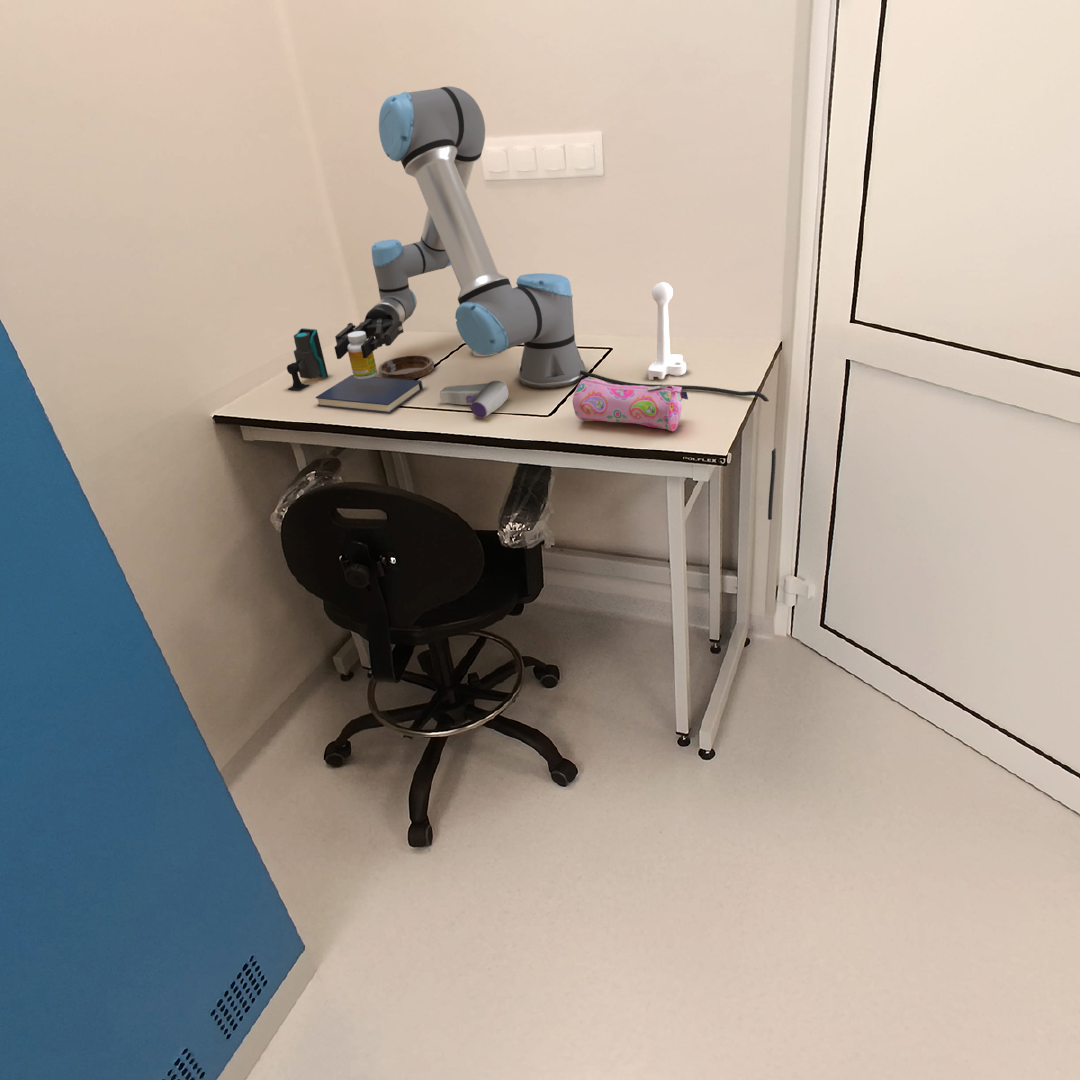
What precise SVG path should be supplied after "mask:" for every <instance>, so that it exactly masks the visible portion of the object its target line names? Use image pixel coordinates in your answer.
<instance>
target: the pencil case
mask: <svg viewBox="0 0 1080 1080" xmlns="http://www.w3.org/2000/svg"><path fill="white" fill-rule="evenodd" d="M660 385H661V386H655V387H649V386H635V385H619V384H614V383H610V382H606V381H603V380H599V379H593V378H592V379H591V377H584V378H583V379H581V380H580V381H579V383H578V384H577V385H576V388H575V390H574V393H573V396H572V407H573V410H574V415H575V416H576V417H577V419H579V420H581V421H584V422H597V421H598V422H599V421H600V422H608V423H623V424H636V425H641V426H645V427H648V428H655V429H662V430H668V431H670V432H675V431H676V430H677V428H678V425H679V422H680V420H681V419H680V418H681V414H682V409H683V400H689V397H688V392H687V391H683V389H682V387H678V386H677V387H676V386H673V385H674V384H660ZM666 385H668V386H666Z"/></svg>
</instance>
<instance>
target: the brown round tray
mask: <svg viewBox="0 0 1080 1080" xmlns="http://www.w3.org/2000/svg"><path fill="white" fill-rule="evenodd" d="M434 368H435V365H434V360H433V358H432V357H430V356H428V355H423V354H410V355H409V354H408V355H401V356H397V357H393V358H390V359H388V360H386V361H384V362H382V363H381V364H379V366H378V369H377V370H378V374H379V377H383V378H396V379H408V380H416V379H418V378H422V377H423V376H426V375H428V374H430V373H431V372H433V370H434Z"/></svg>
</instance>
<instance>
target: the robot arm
mask: <svg viewBox="0 0 1080 1080" xmlns="http://www.w3.org/2000/svg"><path fill="white" fill-rule="evenodd" d="M378 132H379V133H378V134H379V140H380V142H381V147H382V149H383V152H384V154H385V155H386V156H387V157H388V158H389V160H391V161H393V162H400V163H401V165H402V167H403V169H404V173H405V174H407V175H408V176H411V177H413V178H414V179H415V180H416V182H417V185H418V187H419V190H420V192H421V195H422V197H423V200H424V202H425V204H426V207H427V211H426V215H425V220H424V224H423V228H422V233H421V237H420V240H419V241H416V242H413V243H409V244H408V243H407V244H404V245H403V243H402V241H400V240H398V239H386V240H379V241H376V242H374V243H373V244H372V246H371V258H372V259H371V260H372V265H373V269H374V273H375V278H376V282H377V286H378V287H377V288H378V293H379V298H380V300H379V301H378V302H377V303H376V304H375V305H373V307H372V308H371V309H369V310H368V312H367V313H366V314H365V318H364V320H363V321H362V322H360V323H358V325H356V324H354V323H353V322H349V323H347V326H346V327H345V328H343V329H342V330H341V331H340V332H338V333H337V334H336V335H335V336H334V338H335V342H336V343H335V344H336V345H335V346H334V352H335V355H336V359H337V360H341V359H342V358H343V357H344V356H345V355H346V354H347V353H348V349H347V347H348V345H349V344H350V342H349V340H348V334H349V333H352V332H356V331H364V332H365V333H366V337H367V339H366V340H367V341H366V342H365V343H364V344H362V345H361V350H362V354H363V358H367V357H368V356H369V355H370V354H371V353H372V352H373V353H374V351H376V350H378V349H379V348H381V347H383V345H385V347H389V346H391V345H392V344H393V343H394V341H395V340H396V339H397V338H398V337H399V336H400V335H401V334H403V333H404V331H405V330H404V328H403V327H404V325H403V324H404V323H406V321H407V320H408V319H410V318H411V316H412V315H413V314H414V311H415V310H416V308H417V304H418V302H417V296H416V295H415V293H414V292H413V290H412V289H410V283H409V278H413V277H415V276H419V275H423V274H427V273H431V272H434V271H439V270H444V269H446V268H447V267H450V266H451V269H452V270H453V274H454V275H455V278H456V280H457V283H458V285H459V287H460V291H459V294H458V297H457V302H458V305H459V304H460V306H458V307H457V309H456V311H455V316H454V317H455V320H456V321H455V325H456V329H457V331H458V333H459V335H460V338H461V339H462V341H463V342H464V343H465V345H466V346H467V348H469V349H470V350H471V351H472V350H473V351H475V352H476V353H478V354H480V355H490V356H492V355H491V354H493V355H496V354H501V353H503V352H505V351H506V350H509V349H511V348H515V347H517V346H520V345H523V351H522V355H521V359H520V360H521V361H520V366H519V367H517V369H518V370H517V371H518V374H519V375H518V376H519V377H518V378H519V382H520V384H522V385H524V386H526V387H529V388H533V389H541V390H542V389H543V390H545V389H546V390H547V389H549V390H550V389H559V388H563V387H567V386H572V385H574V384H576V383H578V382H581V380H583V379H585V376H586V377H588V378H592V379H595V380H601V381H604V382H606V383H610V384H615V385H635V386H649V387H655V386H661V385H662V384H652V383H651V384H650V383H635V382H629V381H623V380H618V379H614V378H609V377H605V376H604V375H603V376H602V375H599V374H595V373H592V372H589V371H586V367H585V363H584V361H583V360H582V357H581V354H580V352H579V348H578V347H577V343H576V338H575V337H576V336H575V323H574V308H573V294H572V288H571V281H570V279H569V278H567V277H566V276H565V275H562V274H558V273H557V274H556V273H545V272H542V273H541V272H537V273H536V272H535V273H526V274H522V275H519V276H518V277H517V278H516V282H515V284H516V285H517V286H516V287H513V286H512V284H511V281H510V279H509V277H508V276H506V275H503V274H501V273H500V272H499V271H498V268H497V266H496V262H495V261H494V258H493V256H492V253H491V250H490V248H489V246H488V243H487V241H486V239H485V236H484V233H483V231H482V228H481V225H480V223H479V221H478V218H477V216H476V212H475V210H474V208H473V206H472V203H471V200H470V198H469V196H468V193H467V189H468V185H469V181H470V180H471V179H470V178H471V175H472V172H473V168H474V166H475V165H474V164H475V162H477V161H479V160H480V158H481V156H482V153H483V150H484V146H485V140H486V124H485V120H484V115H483V112H482V110H481V107H480V106H479V104H478V102H476V99H475V98H474V97H473V96H472V95H471V94H469V93H468V92H466V91H465V90H463V89H461V88H459V87H455V86H449V85H448V86H442V87H437V88H429V89H423V90H416V91H410V92H409V91H403V92H401V93H398V94H394V95H389V96H388V97H387V98H386V99H385V100H384V101H383V103H382V104H381V107H380V110H379V115H378ZM665 385H666V386H668V385H669V384H665ZM672 385H673V386H676V387H677V386H678V387H682V389H681V390H691V391H693V390H694V391H705V392H706V391H707V392H712V393H713V392H714V393H721V394H726V395H733V396H741V397H747V396H750V397H751V396H756V397H758V398H760V399H761V400H762V401H764V402H769V401H770V399H769V398H768V397H767V396H766V395H764V393H762V392H759V391H756V390H755V391H754V390H751V391H750V390H749V391H740V390H731V389H727V388H719V387H712V386H701V385H686V384H685V385H683V384H682V385H681V384H672ZM776 462H777V447H774V449H773V450H771V468H770V480H769V481H770V482H769V492H768V508H767V520H769V521H772V520H773V502H774V490H775V479H776V464H777V463H776Z"/></svg>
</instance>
